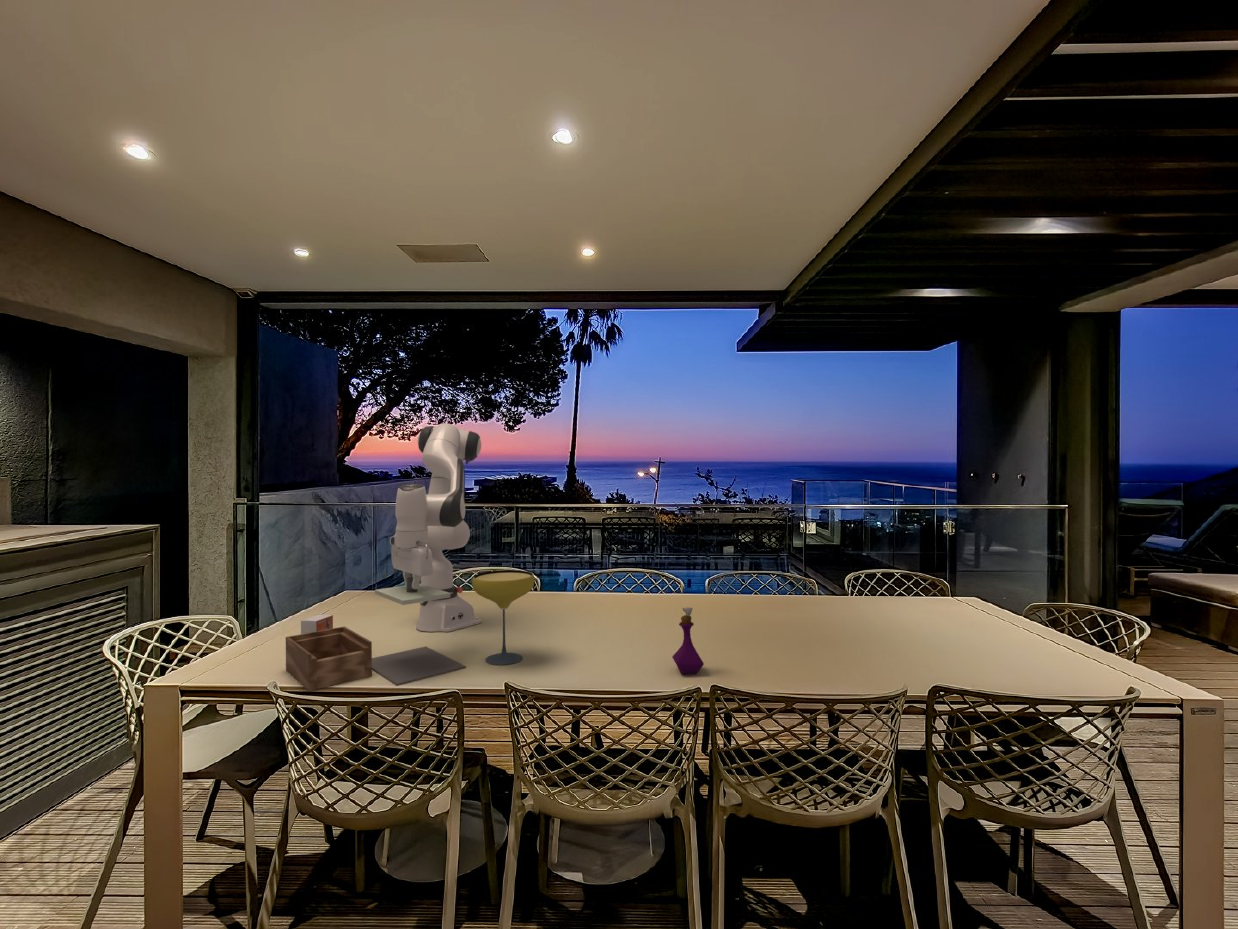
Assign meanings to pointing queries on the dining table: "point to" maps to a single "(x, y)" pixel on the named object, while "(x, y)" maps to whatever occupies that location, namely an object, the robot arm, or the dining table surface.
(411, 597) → the lid
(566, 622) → the dining table surface
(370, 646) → the walnut box
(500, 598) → the cocktail glass
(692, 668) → the perfume bottle
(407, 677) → the mat
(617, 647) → the dining table surface
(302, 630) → the small box
